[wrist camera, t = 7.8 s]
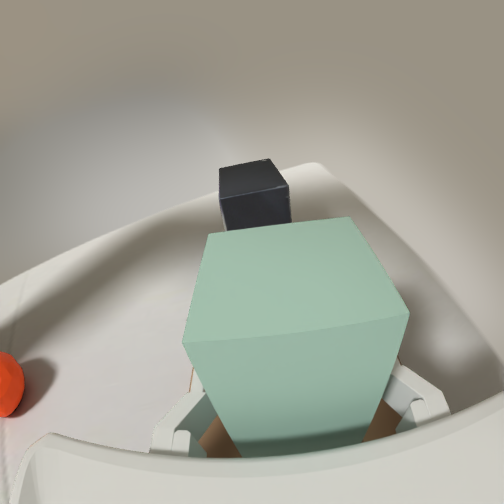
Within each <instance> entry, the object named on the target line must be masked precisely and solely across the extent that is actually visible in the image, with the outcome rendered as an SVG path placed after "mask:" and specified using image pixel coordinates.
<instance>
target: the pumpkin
mask: <svg viewBox="0 0 504 504" xmlns="http://www.w3.org/2000/svg"><path fill="white" fill-rule="evenodd" d="M24 388H25V386H24V375H23V371H22V368H21V367H20V365H19V364H18V363H17V362H16V360H15V359H14V358H13V357H12V355H10V354H8V353H5V352H1V351H0V417H7V416H8V415H10V414H11V413H12V412H13V411H14V410H15V409H16V408H17V406H18V404H19V402H20V400H21V398H22V395H23V391H24Z"/></svg>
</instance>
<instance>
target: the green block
mask: <svg viewBox="0 0 504 504" xmlns="http://www.w3.org/2000/svg"><path fill="white" fill-rule="evenodd" d="M409 315H410V312H409V310H408V308H407V307H406V305H405V303H404V301H403V300H402V298H401V296H400V294H399V293H398V291H397V289H396V288H395V286H394V284H393V283H392V281H391V279H390V278H389V276H388V274H387V273H386V271H385V269H384V268H383V266H382V265H381V263H380V261H379V260H378V258H377V257H376V255H375V254H374V252H373V250H372V249H371V247H370V246H369V244H368V243H367V241H366V240H365V238H364V237H363V235H362V234H361V232H360V231H359V229H358V228H357V226H356V225H355V223H354V222H353V220H352V219H351V218H350V216H348V217H339V218H330V219H321V220H312V221H304V222H295V223H287V224H279V225H271V226H263V227H255V228H247V229H240V230H232V231H225V232H217V233H210V234H208V238H207V242H206V245H205V249H204V253H203V257H202V261H201V265H200V269H199V273H198V277H197V281H196V285H195V289H194V293H193V297H192V301H191V305H190V310H189V314H188V318H187V322H186V327H185V331H184V336H183V340H182V344H183V346H184V348H185V350H186V352H187V354H188V357H189V359H190V361H191V363H192V365H193V367H194V369H195V371H196V373H197V375H198V377H199V379H200V381H201V383H202V385H203V387H204V389H205V391H206V393H207V395H208V397H209V399H210V401H211V403H212V405H213V407H214V409H215V410H216V412H217V414H218V416H219V418H220V420H221V421H222V423H223V425H224V427H225V429H226V430H227V432H228V434H229V436H230V437H231V439H232V441H233V443H234V444H235V446H236V448H237V449H238V451H239V453H240V454H241V456H242V458H250V457H268V456H281V455H291V454H300V453H308V452H315V451H322V450H328V449H334V448H339V447H344V446H349V445H354V444H359V443H361V442H362V440H363V438H364V436H365V434H366V432H367V430H368V428H369V425H370V423H371V421H372V419H373V417H374V414H375V412H376V410H377V407H378V405H379V403H380V400H381V398H382V395H383V393H384V390H385V388H386V385H387V382H388V380H389V377H390V374H391V372H392V369H393V366H394V363H395V360H396V357H397V354H398V351H399V348H400V345H401V342H402V339H403V336H404V332H405V329H406V325H407V322H408V318H409Z"/></svg>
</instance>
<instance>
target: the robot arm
mask: <svg viewBox="0 0 504 504" xmlns="http://www.w3.org/2000/svg"><path fill="white" fill-rule="evenodd" d="M382 399H383V400H384V401H385V402H386V403H388V404H389V405H390V406H391V407H392V408H393V409H394V410H395V411H396V412H397V413H398V414H399V415H400V416H401V417H403V418H402V419H401V421H400V423H399V424H398V426H397V427H396V429H395V430H396V434H394V435H391V436H387V437H383V438H380V439H376V440H372V441H368V442H363V443H359V444H354V445H349V446H344V447H339V448H334V449H328V450H322V451H315V452H308V453H300V454H291V455H281V456H268V457H250V458H207V453H206V451H205V450H204V449H203V448H202V447H201V445H200V444H199V443H198V441H199V440H200V439H201V437H202V436H203V434H204V433H205V432H206V430H207V429H208V427H209V426H210V425H211V423H212V422H213V420H214V419H215V417H216V416H217V412H216V410H215V409H214V407H213V405H212V403H211V401H210V399H209V397H208V395H207V393H206V391H205V389H204V387H203V385H202V383H201V381H200V379H199V377H198V375H197V373H196V371H195V369H194V371H193V377H192V383H191V390H190V392H187V393H186V394H185V395H184V396H183V397H182V398H181V399H180V400H179V402H178V403H177V404H176V405H175V406H174V407H173V408H172V409H171V410H170V411H169V412H168V413H167V414H166V415H165V417H164V418H163V419H162V420H161V421H160V422H159V423H158V424H157V425H156V426H155V427H154V430H153V435H152V440H151V446H150V451H149V453H144V452H137V451H131V450H125V449H119V448H113V447H108V446H103V445H99V444H94V443H90V442H86V441H82V440H78V439H74V438H70V437H67V436H63V435H60V434H57V433H48V434H46V435H44V436H43V437H41V438H40V439H39V440H37V441H36V442H35V443H34V444H32V445H31V446H30V447H29V448H28V449H27V451H26V453H25V455H24V457H23V459H22V461H21V464H20V467H19V469H18V472H17V475H16V479H15V482H14V486H13V489H12V493H11V497H10V502H9V504H504V390H503V391H501V392H499V393H497V394H495V395H493V396H491V397H489V398H487V399H485V400H483V401H481V402H479V403H477V404H475V405H473V406H471V407H468V408H466V409H464V410H462V411H459V412H457V413H454V414H452V415H451V412H450V410H449V407H448V405H447V402H446V400H445V397H444V395H443V393H442V391H441V390H439V389H438V388H436V387H435V386H433V385H432V384H431V383H429V382H428V381H426V380H425V379H423V378H422V377H420V376H419V375H417V374H416V373H415V372H413V371H412V370H410V369H409V368H407V367H406V366H404V365H402V366H401V365H400V363H399V360H398V358H397V357H396V360H395V363H394V366H393V369H392V372H391V374H390V377H389V380H388V382H387V385H386V388H385V390H384V393H383V395H382Z"/></svg>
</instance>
